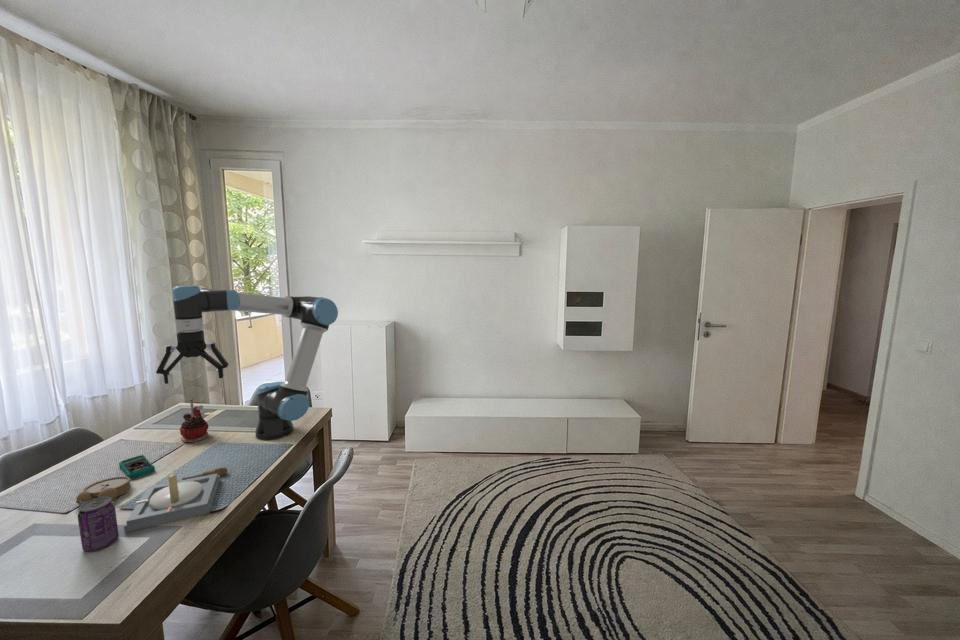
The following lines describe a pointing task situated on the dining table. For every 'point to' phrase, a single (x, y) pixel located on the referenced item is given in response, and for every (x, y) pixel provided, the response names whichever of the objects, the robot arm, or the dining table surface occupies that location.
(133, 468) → the digital multimeter
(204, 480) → the panel
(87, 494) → the alarm clock
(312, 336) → the robot arm
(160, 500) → the dial
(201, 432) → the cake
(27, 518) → the dining table surface
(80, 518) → the beverage can
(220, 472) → the screwdriver
